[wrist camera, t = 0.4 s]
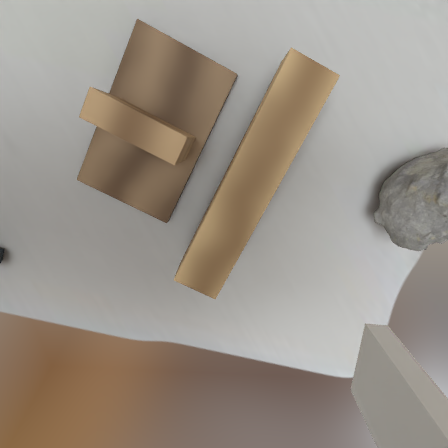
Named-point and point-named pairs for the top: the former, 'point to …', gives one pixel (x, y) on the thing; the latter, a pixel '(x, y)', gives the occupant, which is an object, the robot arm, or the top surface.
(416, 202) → the stone
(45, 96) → the top surface
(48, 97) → the top surface
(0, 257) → the gun
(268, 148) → the bar
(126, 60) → the fulcrum
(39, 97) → the top surface
